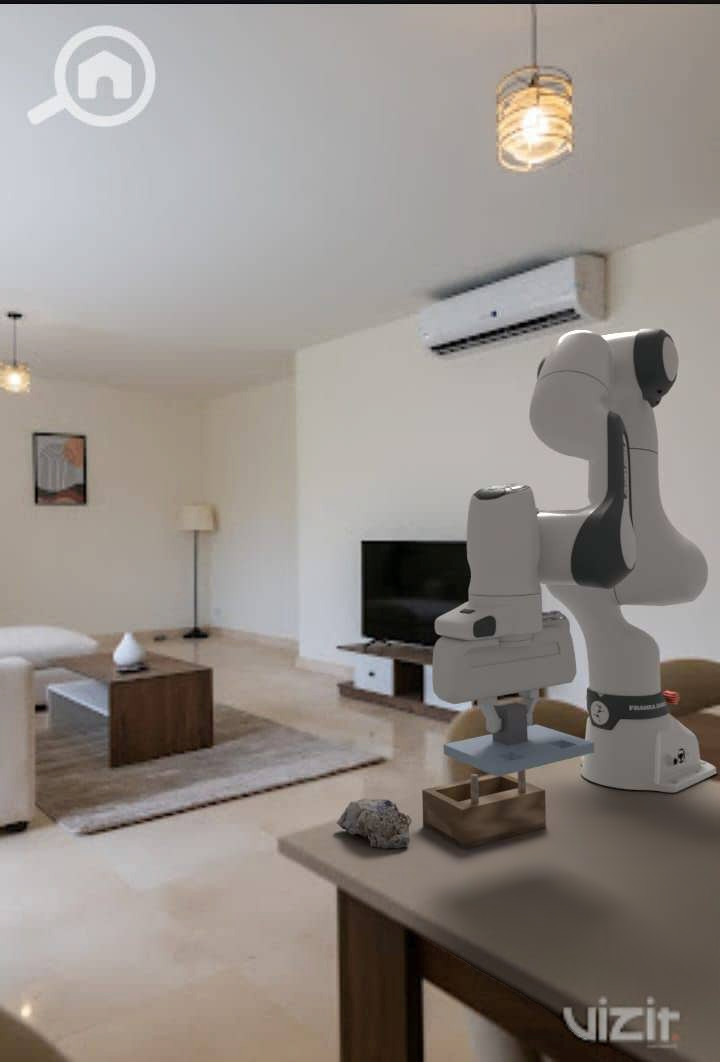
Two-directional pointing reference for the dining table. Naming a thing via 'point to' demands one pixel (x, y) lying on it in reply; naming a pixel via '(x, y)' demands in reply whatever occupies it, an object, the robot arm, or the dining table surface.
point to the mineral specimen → (377, 822)
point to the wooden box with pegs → (484, 809)
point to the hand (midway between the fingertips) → (509, 728)
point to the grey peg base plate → (517, 745)
